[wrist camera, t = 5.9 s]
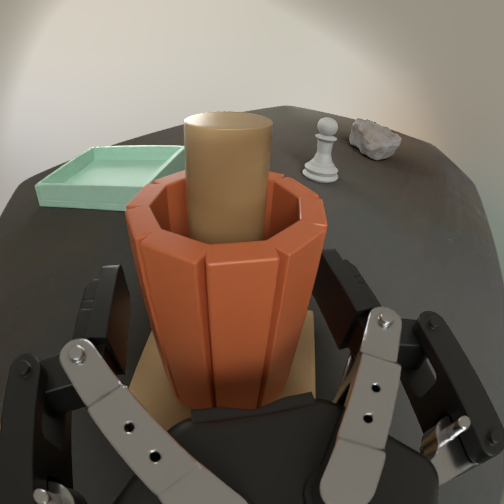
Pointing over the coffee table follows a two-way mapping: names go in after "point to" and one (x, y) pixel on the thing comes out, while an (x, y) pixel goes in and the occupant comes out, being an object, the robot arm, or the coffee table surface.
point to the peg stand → (222, 235)
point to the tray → (108, 176)
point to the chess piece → (323, 154)
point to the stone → (373, 139)
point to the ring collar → (226, 292)
